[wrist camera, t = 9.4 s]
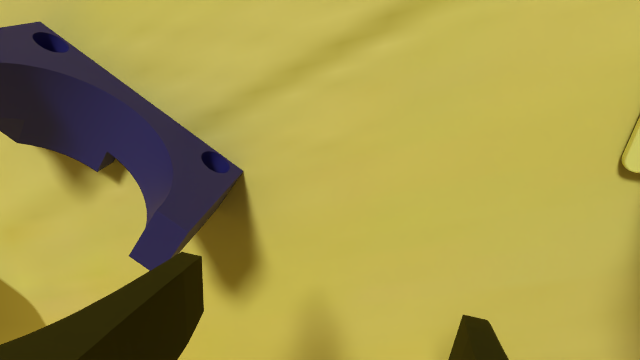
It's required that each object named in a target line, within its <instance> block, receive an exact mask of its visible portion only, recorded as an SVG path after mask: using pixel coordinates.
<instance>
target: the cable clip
mask: <svg viewBox="0 0 640 360" xmlns="http://www.w3.org/2000/svg"><path fill="white" fill-rule="evenodd" d="M0 131H1V132H2V133H4V134H5V135H7V136H8V137H9V138H11V139H12V140H14V141H15V142H17V143H21V144H27V145H33V146H37V147H42V148H46V149H49V150H53V151H56V152H59V153H61V154H64V155H67V156H69V157H71V158H74V159H76V160H78V161H80V162H82V163H84V164H85V165H87V166H89V167H90V168H92V169H94V170H95V171H97V172H98V171H100V170H101V169H103V168H104V167H106V166H107V165H109V164H111V163H112V162H113V161H114V159H115V158H116V159H117V160H118V161H119V162H120V163H122V164H123V165H124V166H125V167H126V169H127V170H128V171H129V172H130V173H131V174H132V176H133V177H134V179H135V180H136V182H137V183H138V185H139V187H140V189H141V191H142V193H143V196H144V199H145V203H146V208H147V222H146V228H145V230H144V232H143V233H142V235H141V237H140V238H139V240H138V242H137V243H136V245H135V247H134V248H133V250H132V252H131V253H130V255H129V256H130V257H131V258H132V259H134V260H135V261H137V262H138V263H140V264H141V265H143V266H144V267H145V268H147V269H148V270H150V271H151V270H152V269H154V268H156V267H157V266H159V265H161V264H162V263H164V262H165V261H167V260H169V259H170V258H172V257H174V256H176V255H177V254H178V253H179V252H180V251H181V250H182V249H183V248H184V246H185V245H186V244H187V243H188V242H189V241H190V240H191V238H192V237H193V236H194V235H195V234H196V233H197V231H198V230H199V229H200V228H201V227H202V226H203V225H204V223H205V222H206V221H207V220H208V219H209V218H210V216H211V215H212V214H213V213H214V212H215V211H216V209H217V208H218V207H219V205H220V204H221V202H222V201H223V199H224V198H225V197H226V195H227V194H228V192H229V191H230V189H231V188H232V187H233V185H234V184H235V182H236V181H237V179H238V178H239V177H240V175H241V174H242V172H243V171H242V170H241V169H240V168H238V167H237V166H236V165H234V164H233V163H232V162H230V161H229V160H227V159H226V158H225V157H223V156H222V155H221V154H219V153H218V152H217V151H215V150H214V149H213V148H211V147H210V146H208V145H207V144H206V143H204V142H203V141H202V140H200V139H199V138H198V137H196V136H195V135H193V134H192V133H191V132H189V131H188V130H187V129H185V128H184V127H183V126H181V125H180V124H178V123H177V122H176V121H174V120H173V119H172V118H170V117H169V116H168V115H166V114H165V113H164V112H162V111H161V110H159V109H158V108H157V107H155V106H154V105H153V104H151V103H150V102H149V101H147V100H146V99H144V98H143V97H142V96H140V95H139V94H138V93H136V92H135V91H134V90H132V89H131V88H129V87H128V86H127V85H125V84H124V83H123V82H121V81H120V80H119V79H117V78H116V77H115V76H113V75H112V74H110V73H109V72H108V71H106V70H105V69H104V68H102V67H101V66H100V65H98V64H97V63H95V62H94V61H93V60H91V59H90V58H89V57H87V56H86V55H85V54H83V53H82V52H80V51H79V50H78V49H76V48H75V47H74V46H72V45H71V44H70V43H68V42H67V41H66V40H64V39H63V38H61V37H60V36H59V35H57V34H56V33H55V32H53V31H52V30H51V29H49V28H48V27H46V26H45V25H44V24H42V23H41V22H34V23H28V24H21V25H15V26H9V27H2V28H0Z"/></svg>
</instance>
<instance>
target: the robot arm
mask: <svg viewBox="0 0 640 360" xmlns="http://www.w3.org/2000/svg"><path fill="white" fill-rule="evenodd" d="M621 161H622V164H623V165H624V166H625V168H626V169H628V170H629V171H631V172H635V173H640V117H639V119H638V122H637V124H636V126H635V128H634V131H633V133H632V135H631V137H630V140H629V142H628V144H627V146H626V149H625V151H624V153H623V155H622V159H621ZM203 312H204V305H203V279H202V256H197V255H193V254H188V253H184V252H181V253H179V254H177V255H176V256H174V257H172V258H170V259H169V260H167V261H165V262H164V263H162V264H161V265H159V266H157V267H156V268H154V269H152V270H151V271H149V272H147V273H146V274H144V275H142V276H141V277H139V278H137V279H136V280H134V281H132V282H131V283H129V284H127V285H125V286H124V287H122V288H120V289H119V290H117V291H115V292H113V293H112V294H110V295H108V296H106V297H104V298H102V299H100V300H98V301H97V302H95V303H93V304H91V305H89V306H87V307H85V308H84V309H82V310H80V311H78V312H76V313H74V314H72V315H70V316H68V317H66V318H64V319H61V320H59V321H57V322H55V323H53V324H50V325H48V326H46V327H44V328H41V329H39V330H37V331H35V332H32V333H30V334H28V335H25V336H23V337H20V338H17V339H15V340H12V341H9V342H7V343H4V344H1V345H0V360H177V359H178V358H179V356H180V355H181V353H182V352H183V350H184V349H185V347H186V345H187V344H188V342H189V340H190V338H191V336H192V334H193V332H194V330H195V328H196V326H197V324H198V322H199V320H200V318H201V316H202V314H203ZM449 360H509V359H508V358H507V356H506V354H505V352H504V350H503V348H502V346H501V344H500V342H499V340H498V338H497V336H496V334H495V332H494V330H493V328H492V326H491V324H490V323H489V322H488V320H485V319H480V318H476V317H471V316H467V315H463V316H462V319H461V323H460V326H459V329H458V332H457V335H456V338H455V341H454V344H453V347H452V351H451V354H450V357H449Z"/></svg>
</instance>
